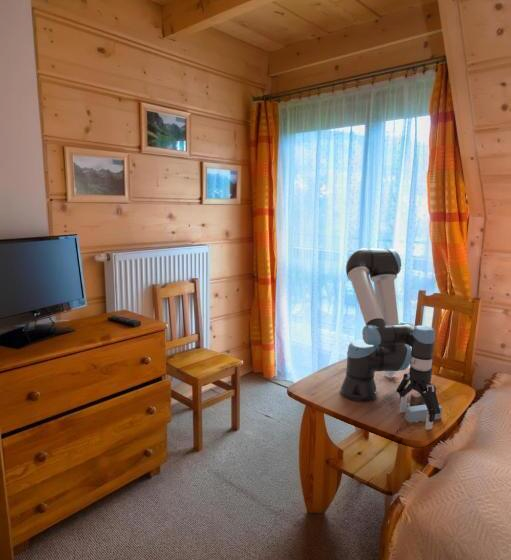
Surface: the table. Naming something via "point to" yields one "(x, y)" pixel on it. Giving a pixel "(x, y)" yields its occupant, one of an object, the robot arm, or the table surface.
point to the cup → (390, 374)
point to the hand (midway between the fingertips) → (415, 420)
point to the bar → (419, 413)
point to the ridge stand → (416, 400)
